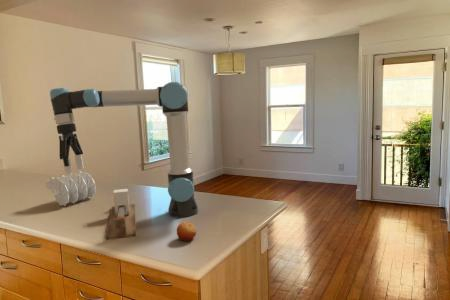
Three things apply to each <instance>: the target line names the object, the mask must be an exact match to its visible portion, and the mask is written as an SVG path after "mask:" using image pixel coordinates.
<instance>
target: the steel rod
mask: <svg viewBox="0 0 450 300" xmlns="http://www.w3.org/2000/svg"><path fill="white" fill-rule="evenodd" d="M124 216H125V205H121V206H119V212H118V216H117V219H118V218H124Z"/></svg>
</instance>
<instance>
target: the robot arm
mask: <svg viewBox="0 0 450 300" xmlns="http://www.w3.org/2000/svg"><path fill="white" fill-rule="evenodd" d="M49 96H50V102H51V106H52V111H53V114H54V115H53V116H54V118H53V120H54V121H55V124H56V131H57V134H58V135H59V136H58V140H59V160H62V163H63V166H64V170H65V171H64V172H65V173H64V174H65V175H69V174H71V173H72V174H74V173H73V171H74V170H73V168H72V162H71V158H69V157H70V151H71V150H72V152H73V153H74V159H75V164H76V169H77V170H81V169H82V170H83V169H85V166H84V162H83V157H82V155H83V154H84V153H83V149H82V146H81V144H80V141H79V139H78V136H77V133H74V132H77V127H76V124H75V117H74V116H75V115H74V113H73V110H76V109H82V108H102V107H103V108H105V107H129V106H133V107H136V106H158V107H161V109H162V114H163V116H165V117H166V127H167V128H166V129H167V139H168V140H167V142H168V152H169V165H170V168H169V170H168V171H167V182H168V183H167V184H168V186H167V192H168V195H169V196H170V202H169V205H168V210H167V211H168V215H169V216H172V217H178V218H181V217H182V218H183V217H189V216H194V215H196V214H198V213H199V207H198V203H197V200H196V199H195V184H194V171H193V170H194V169H193V168H192V167H190V162H189V160H190V159H189V148H188V147H189V145H188V134H187V133H188V131H187V119H186V118H187V117H186V115H187V114H188V113H189V102H188V101H189V100H188V98H189V97H188V96H189V95H188V90H187V88H186V86H184V84H182V83H180V82H178V81H171V82H167V83H166V84H164V86H163V85H162V86H158V87H156V88H149V89H148V88H147V89H143V88H142V89H125V90H124V89H122V90H121V89H120V90H118V89H117V90H114V89H113V90H97V89H95V88H87V89H81V90H75V91H74V90H73V91H69V89H68V88H67V87H58V88H53V89H50V92H49Z"/></svg>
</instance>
